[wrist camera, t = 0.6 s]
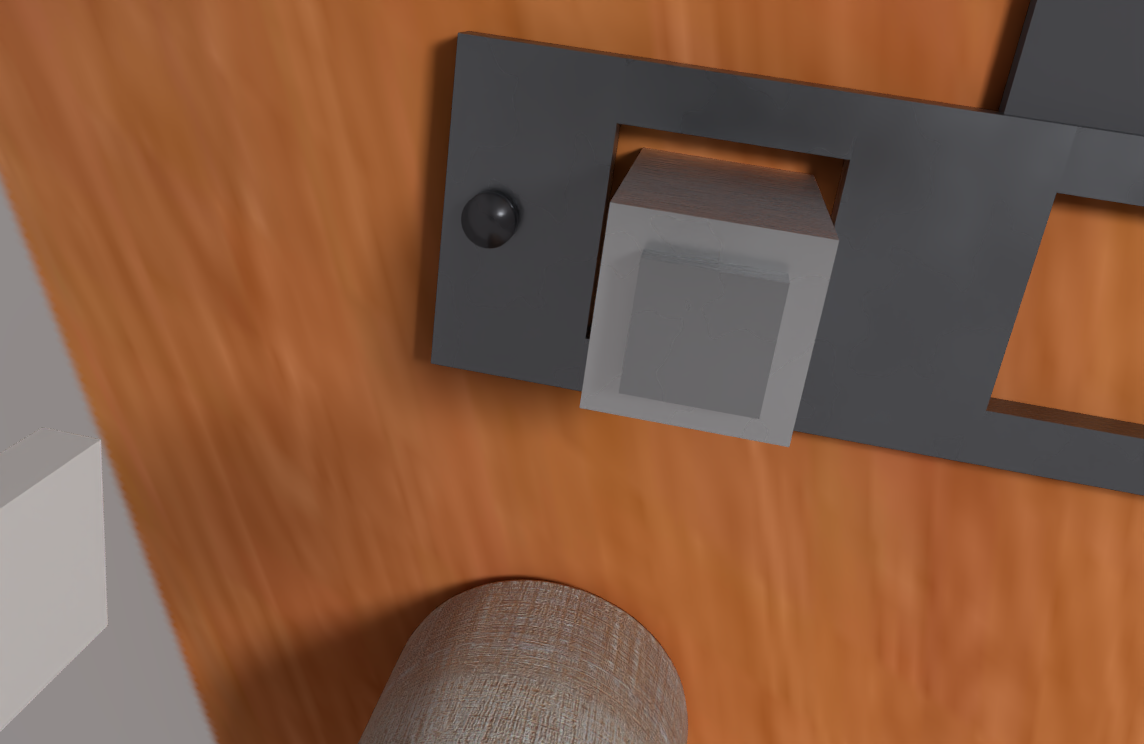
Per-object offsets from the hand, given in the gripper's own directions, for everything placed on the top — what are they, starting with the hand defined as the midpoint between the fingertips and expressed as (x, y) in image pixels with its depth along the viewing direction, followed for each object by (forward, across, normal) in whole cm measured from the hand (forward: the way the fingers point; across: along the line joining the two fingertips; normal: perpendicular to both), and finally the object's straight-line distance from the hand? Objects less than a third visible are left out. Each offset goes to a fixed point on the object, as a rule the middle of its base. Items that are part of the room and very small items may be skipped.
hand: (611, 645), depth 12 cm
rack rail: (+20, +7, 0) cm, 21 cm away
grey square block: (+20, +1, 0) cm, 20 cm away
